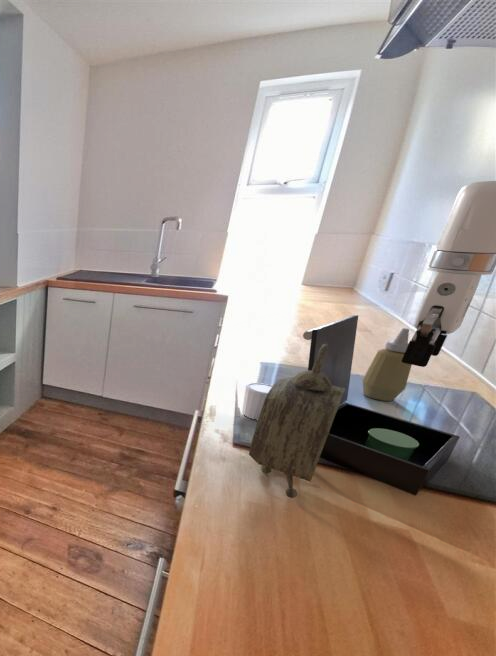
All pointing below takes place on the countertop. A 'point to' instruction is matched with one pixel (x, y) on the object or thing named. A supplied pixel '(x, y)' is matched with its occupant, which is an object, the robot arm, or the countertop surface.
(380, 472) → the black rectangular tray
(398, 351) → the squeeze bottle
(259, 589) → the countertop surface
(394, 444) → the pot
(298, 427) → the tan textured upright piece
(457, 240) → the robot arm
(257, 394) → the white short cylinder
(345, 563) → the countertop surface
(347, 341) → the lid
